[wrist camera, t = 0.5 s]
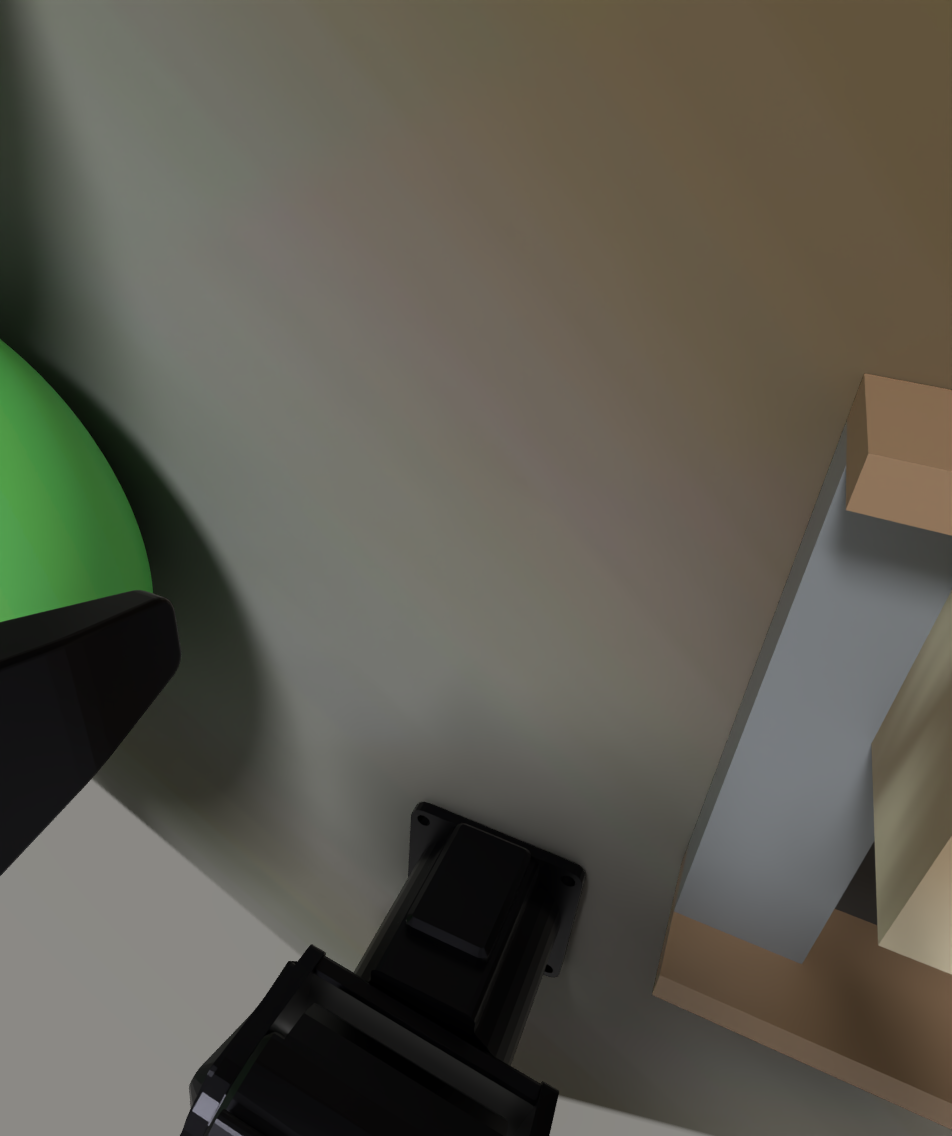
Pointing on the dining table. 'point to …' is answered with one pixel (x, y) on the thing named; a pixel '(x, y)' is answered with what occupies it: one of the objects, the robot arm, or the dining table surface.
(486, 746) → the dining table surface
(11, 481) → the toy bird
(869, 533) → the box
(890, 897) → the block
